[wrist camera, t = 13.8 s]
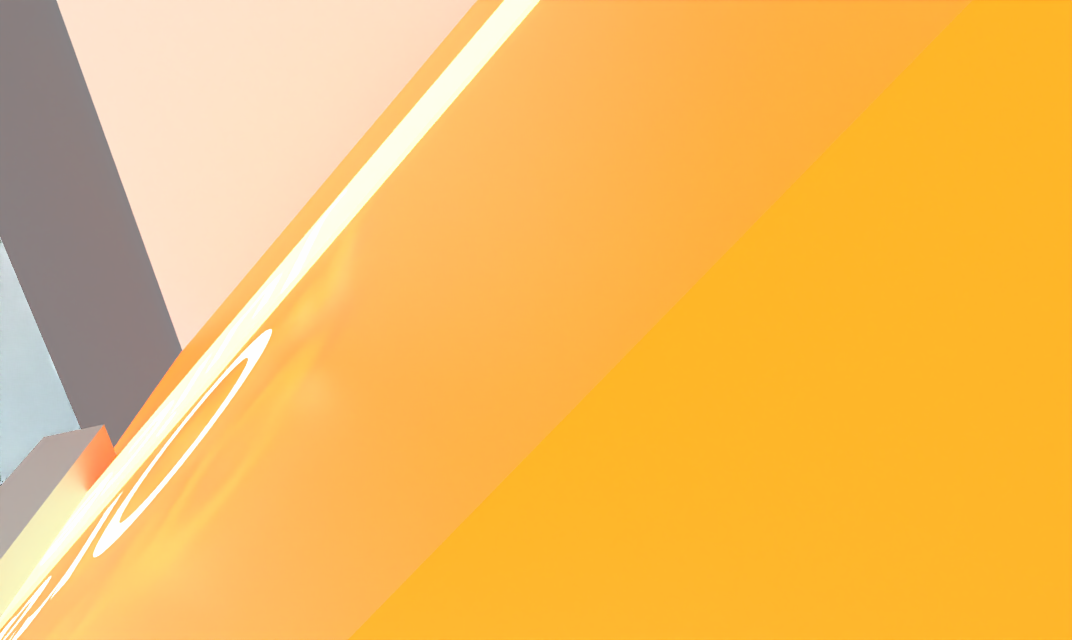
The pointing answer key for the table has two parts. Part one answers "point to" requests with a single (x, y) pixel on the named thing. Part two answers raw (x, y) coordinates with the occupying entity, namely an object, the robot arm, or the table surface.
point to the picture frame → (175, 159)
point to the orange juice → (633, 350)
